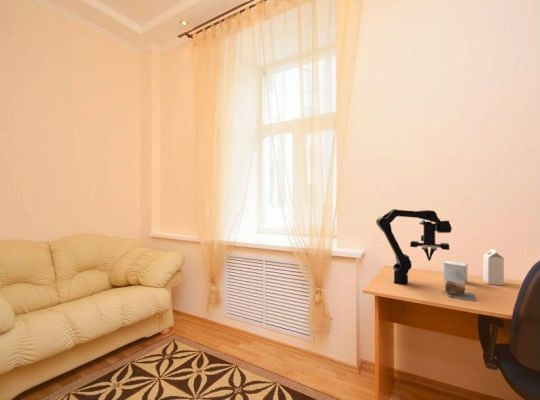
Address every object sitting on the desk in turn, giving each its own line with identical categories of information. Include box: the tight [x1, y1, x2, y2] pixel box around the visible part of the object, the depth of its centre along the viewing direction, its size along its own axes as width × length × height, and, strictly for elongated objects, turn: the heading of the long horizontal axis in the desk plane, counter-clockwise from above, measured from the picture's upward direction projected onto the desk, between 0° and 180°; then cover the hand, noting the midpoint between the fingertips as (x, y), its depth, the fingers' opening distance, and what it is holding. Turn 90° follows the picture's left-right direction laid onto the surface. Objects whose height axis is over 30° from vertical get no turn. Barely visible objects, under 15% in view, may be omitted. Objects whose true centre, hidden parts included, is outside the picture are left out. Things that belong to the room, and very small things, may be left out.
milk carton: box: [482, 248, 505, 286], centre depth 156 cm, size 7×7×19 cm
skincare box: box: [443, 260, 469, 285], centre depth 160 cm, size 10×6×10 cm, turn 42°
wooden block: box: [443, 280, 466, 296], centre depth 138 cm, size 4×4×8 cm
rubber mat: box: [452, 291, 477, 303], centre depth 137 cm, size 9×12×1 cm
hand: (429, 260), depth 155 cm, fingers closed
